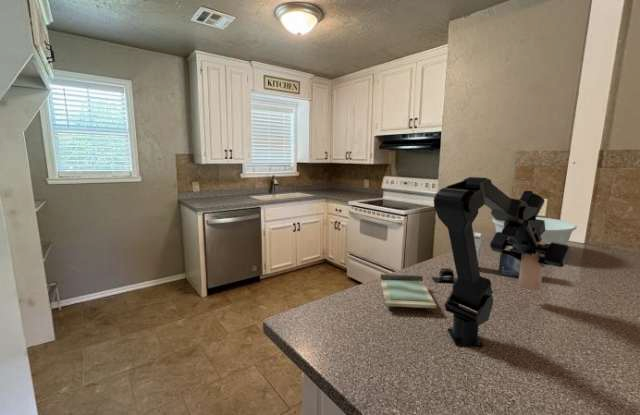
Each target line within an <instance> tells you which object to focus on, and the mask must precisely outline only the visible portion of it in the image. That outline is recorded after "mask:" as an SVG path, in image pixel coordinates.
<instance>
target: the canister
mask: <svg viewBox="0 0 640 415" xmlns="http://www.w3.org/2000/svg"><path fill="white" fill-rule="evenodd" d="M538 244H541V245H545V244H546V243H545V242H542V241H541V242H538ZM540 257H541V255H540V253H538V252H536V253H535V254H532V255H526V254H521V263H520V272H519V278H518V282H517V283H518V284H517V285H518V286H519V287H521V288H523V289H526V290H528V291H529V290H530V291H541V286H542V280H543V271H544V267H543V266H541V265H540V264H539V263H538V261H539V259H540Z"/></svg>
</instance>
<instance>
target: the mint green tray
mask: <svg viewBox="0 0 640 415" xmlns="http://www.w3.org/2000/svg"><path fill="white" fill-rule="evenodd" d="M423 279H424V277H423V275H419V274H418V275H416V274H393V273H391V274H390V273H389V274H386V273H384V274H383V273H381V274H380V285H381V289H382V292H383V297H384V301H385V302H384V303H385V307H387V309H388V311H393V310H394V307H397V308H398V307H399V308H401V307H402V308H419V309H420V308H421V309H423V308H424V309H425V310H426V312H428V313H429V312H430V313H431V312H432V310H433V309H437V304H436V302H435V300H434V298H433V297H432V294H431V293H430V291H429V290H428V288H427V286H426V285H425V283H424V281H423Z"/></svg>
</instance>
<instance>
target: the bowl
mask: <svg viewBox="0 0 640 415" xmlns="http://www.w3.org/2000/svg"><path fill="white" fill-rule="evenodd" d="M536 219H538V220H544V221H545V232H543V234H542V235H541V238H542V240H541V241H542V242H545V243H546V244H550V243H552V242H555V243H560V244H565V245H567V244H568V242H569V241H570V239H571V238H570V237H571V235H572V232H573V231H575V230H577V229H578V228H577V227H578V226H577V225H576V224H575V223H572V222H570V221H567V220H563V219H561V220H560V219H555V218H549V217H540V216H537V217H536ZM491 221H492V222H493V223H494V226H495V232H496V233H497V232H502V230H503V228H504V222H505V221H500V220H496V219H495V218H494V217H493V218H492V220H491ZM508 239H509V238H508Z"/></svg>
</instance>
